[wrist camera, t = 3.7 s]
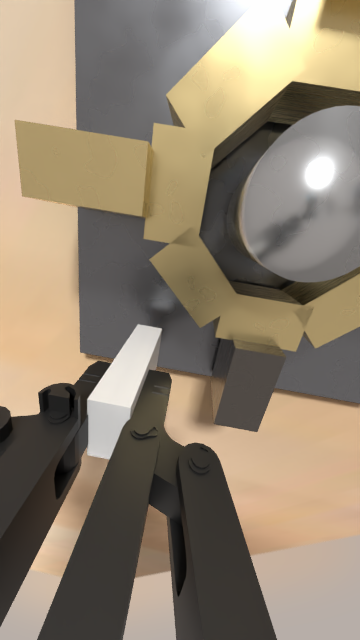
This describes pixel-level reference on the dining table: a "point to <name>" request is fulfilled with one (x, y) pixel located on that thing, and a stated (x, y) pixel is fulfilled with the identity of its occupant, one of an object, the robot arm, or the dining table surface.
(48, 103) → the dining table surface
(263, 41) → the ring nut
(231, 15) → the flange plate
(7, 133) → the dining table surface
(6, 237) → the dining table surface
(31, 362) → the dining table surface
